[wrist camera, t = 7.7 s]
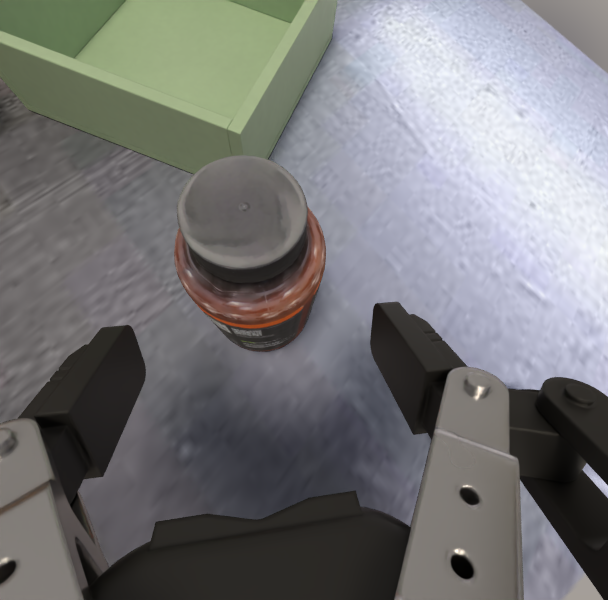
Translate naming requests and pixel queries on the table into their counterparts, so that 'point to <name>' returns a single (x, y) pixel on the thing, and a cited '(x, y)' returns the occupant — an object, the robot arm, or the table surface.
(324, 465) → the table surface
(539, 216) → the table surface
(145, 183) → the table surface
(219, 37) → the desk bin
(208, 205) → the supplement bottle
